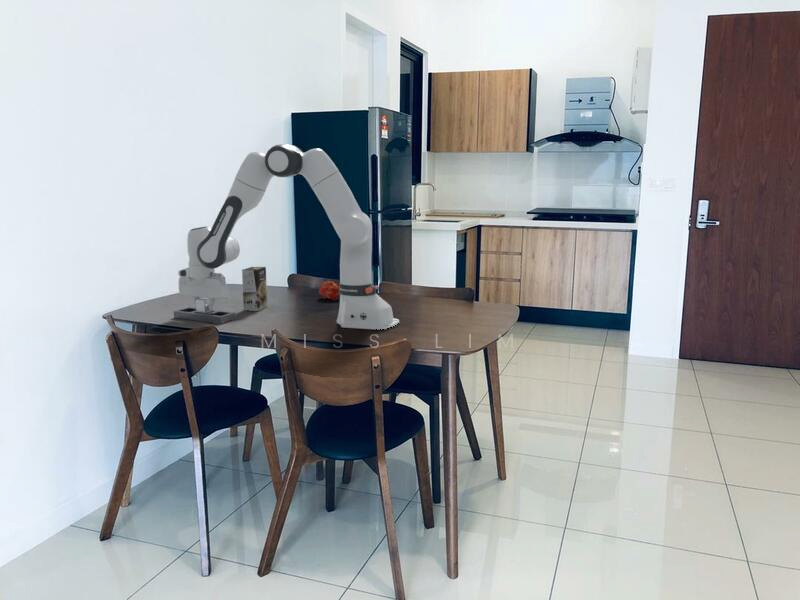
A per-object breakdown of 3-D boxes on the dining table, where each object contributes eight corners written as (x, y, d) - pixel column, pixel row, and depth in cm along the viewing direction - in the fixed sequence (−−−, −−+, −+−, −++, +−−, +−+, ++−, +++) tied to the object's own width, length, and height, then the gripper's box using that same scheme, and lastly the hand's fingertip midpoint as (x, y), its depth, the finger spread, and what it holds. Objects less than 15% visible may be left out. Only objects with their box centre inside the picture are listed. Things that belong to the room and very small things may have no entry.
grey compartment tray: (235, 319, 233) (235, 312, 232) (220, 323, 226) (220, 317, 225) (189, 313, 242) (189, 307, 241) (174, 317, 235) (173, 311, 234)
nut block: (212, 314, 234) (211, 298, 233) (205, 316, 231) (204, 300, 230) (204, 313, 236) (203, 297, 235) (196, 315, 233) (195, 299, 231)
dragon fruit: (319, 300, 273) (342, 307, 268) (310, 292, 266) (333, 299, 261) (328, 283, 276) (351, 290, 270) (319, 274, 269) (342, 281, 263)
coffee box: (258, 311, 246) (256, 270, 242) (243, 310, 247) (241, 269, 244) (268, 306, 254) (266, 266, 251) (253, 305, 256) (251, 266, 252)
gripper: (230, 272, 229) (232, 310, 231) (187, 268, 237) (189, 305, 240) (218, 274, 223) (220, 313, 226) (174, 271, 232) (177, 308, 234)
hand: (204, 309), depth 233 cm, fingers closed on nut block, 4 cm apart
